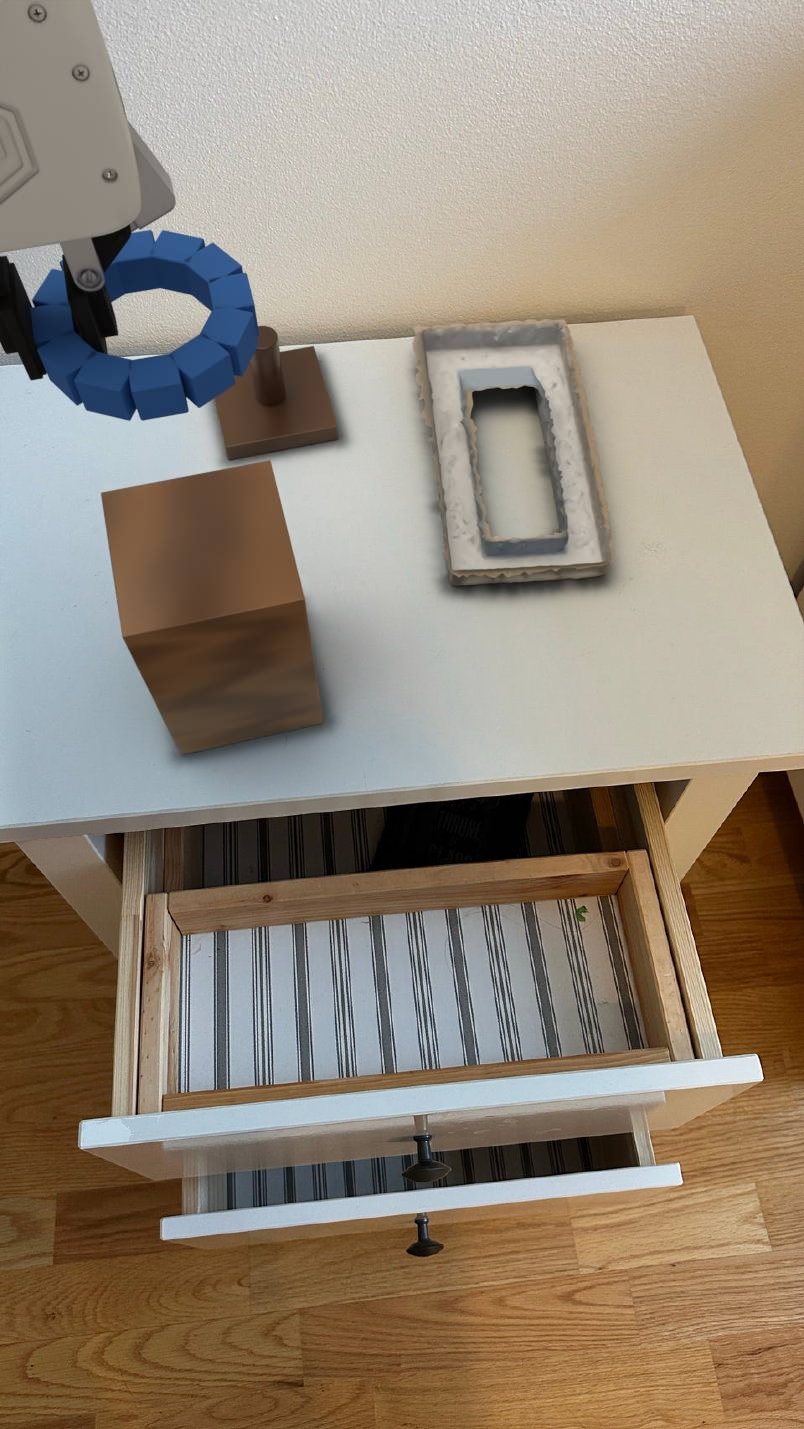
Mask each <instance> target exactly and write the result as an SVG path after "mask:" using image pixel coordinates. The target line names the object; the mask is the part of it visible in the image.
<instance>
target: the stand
mask: <svg viewBox="0 0 804 1429" xmlns="http://www.w3.org/2000/svg"><path fill="white" fill-rule="evenodd" d="M100 497H101V503H102V510H103V517H104V524H105V530H106V538H107V544H108V551H109V557H110V565H111V571H112V577H113V585H114V592H115V597H116V605H117V612H118V617H119V624H120V631H121V637H122V639H123V641H124V643H125V645H126V647H127V649H128V652H129V653H130V656H131V657H132V659H133V662H134V664H135V666H136V668H137V670H138V672H139V674H140V676H141V678H142V680H143V682H144V684H145V685H146V686H145V687H146V688H147V690H148V692H149V694H150V696H151V698H152V701H153V702H154V704H155V706H156V708H157V710H158V712H159V714H160V716H161V718H162V720H163V723H165V726H166V728H167V730H168V733H169V734H170V736H171V738H172V740H173V742H174V744H175V746H176V749H177V751H178V752H179V755H180V756H182V755H187V754H193V753H197V752H202V751H206V750H210V749H215V748H218V747H224V746H228V745H232V744H237V743H241V742H246V741H250V740H254V739H255V740H256V739H259V738H263V737H269V736H272V735H278V734H281V733H286V732H290V731H295V730H299V729H304V728H309V727H313V726H317V725H321V724H322V725H323V724H324V715H323V708H322V703H321V702H322V701H321V697H320V689H319V683H318V676H317V670H316V669H317V668H316V663H315V655H314V649H313V642H312V637H311V629H310V623H309V616H308V612H307V611H308V609H307V605H306V604H307V603H306V598H305V594H304V590H303V585H302V582H301V578H300V573H299V570H298V569H299V568H298V565H297V561H296V557H295V553H294V550H293V549H294V548H293V545H292V542H291V537H290V534H289V529H288V526H287V525H288V524H287V521H286V517H285V513H284V509H283V505H282V500H281V497H280V492H279V489H278V484H277V481H276V476H275V472H274V468H273V465H272V461H271V460H270V459H269V460H264V461H258V462H253V463H248V464H243V465H238V466H237V465H236V466H232V467H227V468H222V469H217V470H211V471H207V472H202V473H195V474H191V475H185V476H179V477H174V478H169V479H165V480H160V481H154V482H147V483H144V484H139V485H132V486H128V487H123V488H118V489H112V490H107V491H103V492H102V491H101V492H100Z"/></svg>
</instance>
